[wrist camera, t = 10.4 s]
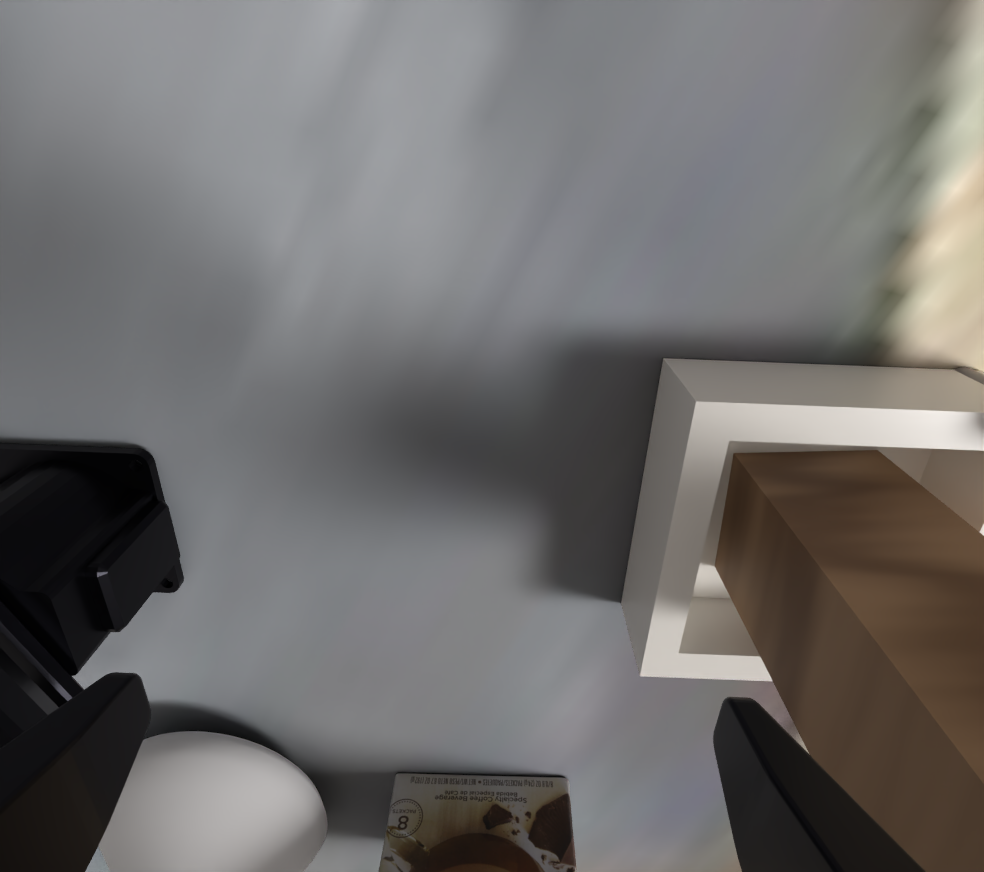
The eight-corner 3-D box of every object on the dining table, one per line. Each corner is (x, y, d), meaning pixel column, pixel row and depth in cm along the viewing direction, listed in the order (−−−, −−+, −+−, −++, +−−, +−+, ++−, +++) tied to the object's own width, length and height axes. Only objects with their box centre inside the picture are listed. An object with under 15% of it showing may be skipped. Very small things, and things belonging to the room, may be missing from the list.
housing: (620, 605, 25) (651, 726, 20) (663, 355, 20) (720, 428, 15) (879, 615, 25) (978, 738, 20) (985, 368, 20) (1154, 445, 15)
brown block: (714, 566, 23) (970, 1071, 10) (733, 452, 21) (1086, 920, 8) (844, 563, 23) (1262, 1073, 10) (877, 449, 21) (1460, 920, 8)
